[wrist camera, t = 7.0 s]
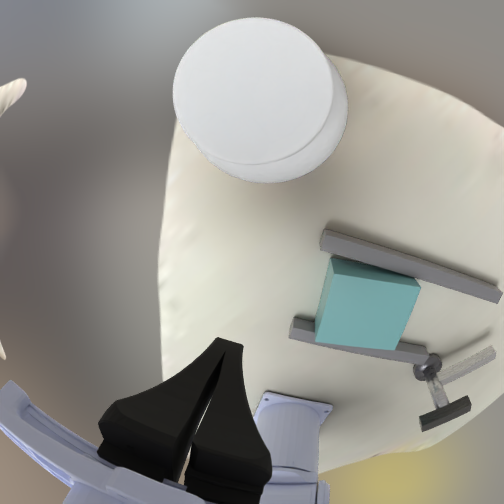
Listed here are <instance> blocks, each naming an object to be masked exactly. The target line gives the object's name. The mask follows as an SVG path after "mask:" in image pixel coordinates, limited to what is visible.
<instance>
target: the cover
mask: <svg viewBox="0 0 504 504" xmlns="http://www.w3.org/2000/svg"><path fill="white" fill-rule="evenodd" d="M420 289H421V287H420V285H419V284H418V282H417V281H416V280H415V278H414V277H411V276H408V275H404V274H401V273H398V272H394V271H391V270H388V269H384V268H381V267H378V266H374V265H370V264H364V263H359V262H353V261H347V260H341V259H335V258H330V261H329V266H328V270H327V274H326V278H325V283H324V287H323V291H322V295H321V299H320V303H319V306H318V310H317V314H316V318H315V342H321V343H329V344H337V345H345V346H354V347H363V348H373V349H384V350H395V348H396V346H397V344H398V342H399V340H400V338H401V335H402V333H403V331H404V329H405V326H406V324H407V322H408V319H409V317H410V315H411V312H412V310H413V307H414V305H415V302H416V300H417V297H418V295H419V292H420Z"/></svg>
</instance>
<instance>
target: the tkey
mask: <svg viewBox="0 0 504 504" xmlns="http://www.w3.org/2000/svg"><path fill="white" fill-rule="evenodd" d="M495 356H496V351H495V350H494V348H493V347H492V345H491V346H489V347H487V348H486V349H484V350H482V351H480V352H478V353H476V354H475V355H473V356H471V357H469V358H467V359H465V360H463V361H461V362H459V363H457V364H455V365H453V366H451V367H448V368H446V369H444V370H442V371H440V372H436V369H435V367H434V366H429V367H427V368H426V369H425V370H424V371H423V375H424V377H425V380H426V383H427V385H428V388H429V391H430V394H431V396H432V399H433V402H434V405H435V408H436V410H434V411H432V412H429V413H427V414H424V415H422V416H419V423H420V426H421V430H422V432H424V431H426V430H429V429H432V428H434V427H436V426H439V425H441V424H443V423H446V422H448V421H450V420H452V419H455V418H457V417H459V416H461V415H463V414H465V413H467V412H469V411H470V410H471V402H470V399H469V397H468V395H467V396H465V397H463V398H461V399H458V400H456V401H454V402H452V403H449V401H448V398H447V396H446V393H445V391H444V388H443V385H445V384H447V383H449V382H452V381H454V380H456V379H458V378H460V377H462V376H464V375H466V374H468V373H470V372H472V371H474V370H476V369H477V368H479V367H481V366H483V365H485V364H487V363H488V362H490V361H492V360H493V359H495Z"/></svg>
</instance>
